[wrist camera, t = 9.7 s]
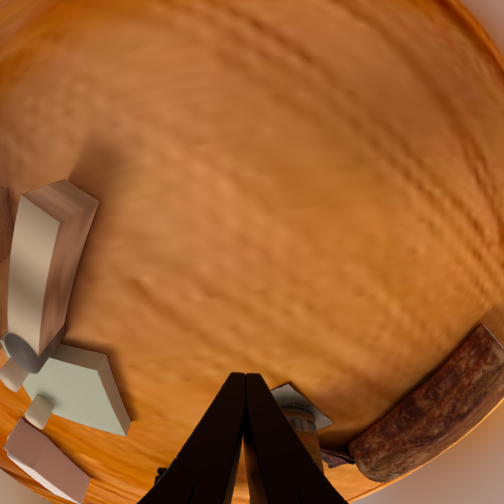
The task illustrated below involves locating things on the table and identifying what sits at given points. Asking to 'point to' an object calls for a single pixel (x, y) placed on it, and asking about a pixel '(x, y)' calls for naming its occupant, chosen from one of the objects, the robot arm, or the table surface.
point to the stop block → (5, 225)
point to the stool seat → (70, 389)
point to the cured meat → (431, 413)
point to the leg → (44, 269)
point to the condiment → (302, 419)
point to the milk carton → (46, 462)
